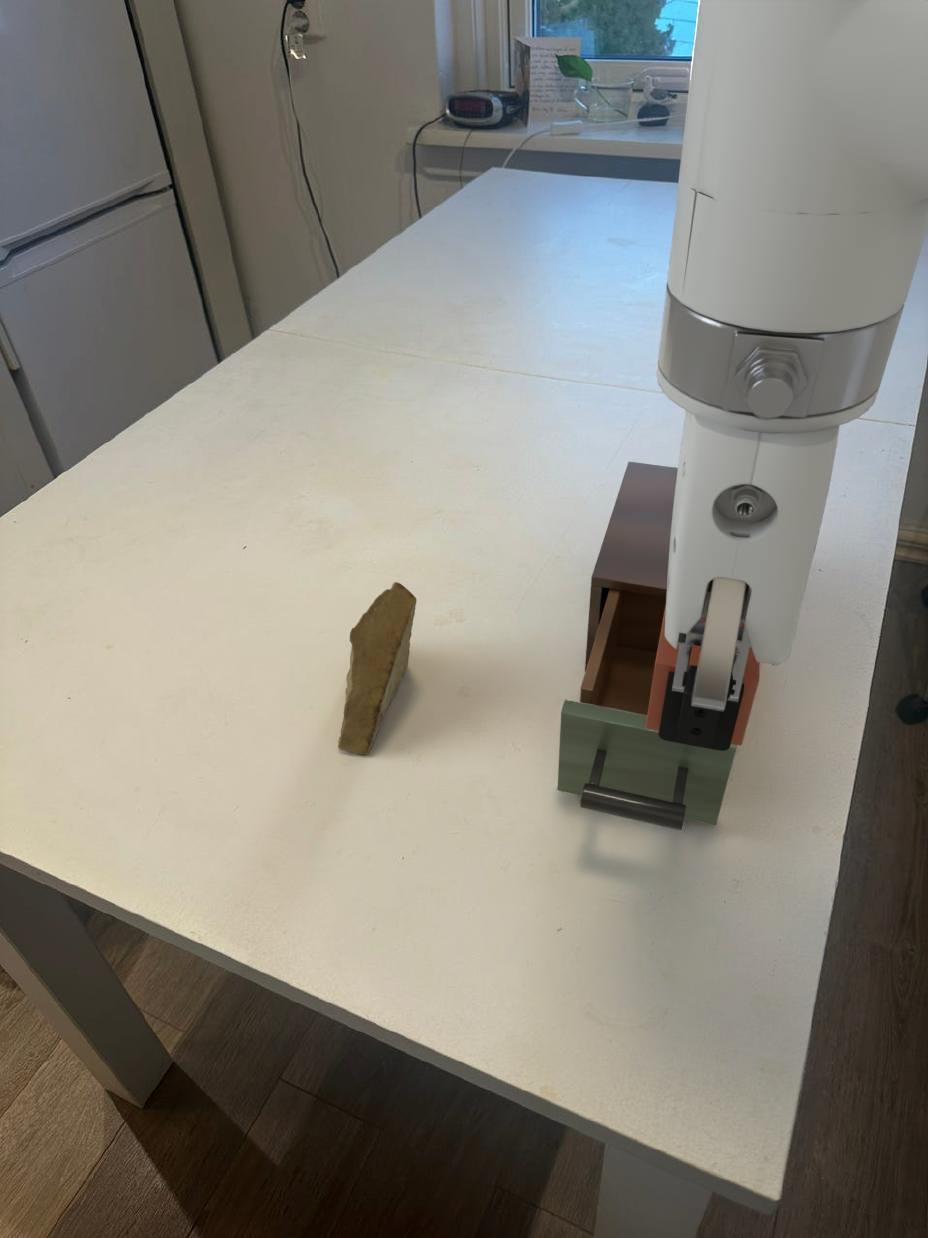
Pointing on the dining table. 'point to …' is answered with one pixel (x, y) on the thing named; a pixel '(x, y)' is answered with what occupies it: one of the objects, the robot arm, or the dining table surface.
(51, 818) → the dining table surface
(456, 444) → the dining table surface
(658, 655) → the block
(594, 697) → the drawer
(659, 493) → the cabinet
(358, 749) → the rock
